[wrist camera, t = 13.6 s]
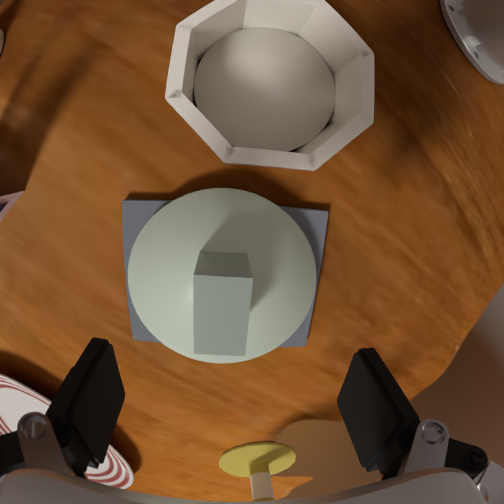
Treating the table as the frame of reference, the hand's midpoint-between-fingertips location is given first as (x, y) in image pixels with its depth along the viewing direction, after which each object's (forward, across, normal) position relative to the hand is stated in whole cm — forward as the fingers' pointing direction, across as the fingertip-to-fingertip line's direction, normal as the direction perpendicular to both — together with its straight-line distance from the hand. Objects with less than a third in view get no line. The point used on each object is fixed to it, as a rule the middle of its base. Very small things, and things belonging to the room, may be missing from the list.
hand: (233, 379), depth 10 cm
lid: (+10, +1, +1) cm, 10 cm away
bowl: (+11, -1, -13) cm, 17 cm away
